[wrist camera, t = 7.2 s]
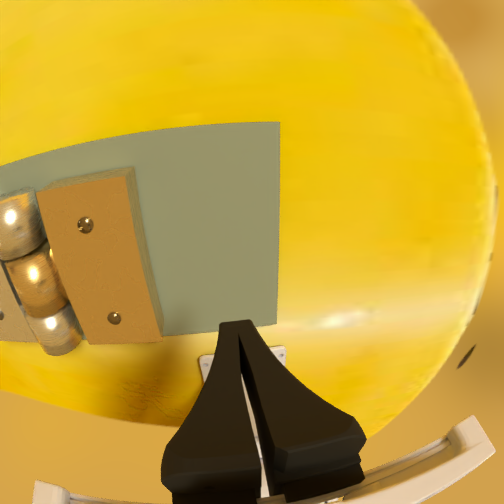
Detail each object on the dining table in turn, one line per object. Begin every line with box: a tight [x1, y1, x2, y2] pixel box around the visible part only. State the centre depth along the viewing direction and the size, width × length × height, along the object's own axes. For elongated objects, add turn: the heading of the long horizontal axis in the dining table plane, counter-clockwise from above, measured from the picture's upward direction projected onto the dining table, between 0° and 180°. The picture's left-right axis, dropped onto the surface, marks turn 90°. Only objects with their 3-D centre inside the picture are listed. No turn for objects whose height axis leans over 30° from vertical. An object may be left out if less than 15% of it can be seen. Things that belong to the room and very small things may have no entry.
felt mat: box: [0, 122, 280, 339], centre depth 19 cm, size 16×27×1 cm, turn 91°
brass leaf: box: [5, 166, 164, 344], centre depth 17 cm, size 12×10×4 cm
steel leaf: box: [0, 187, 82, 356], centre depth 16 cm, size 12×10×4 cm
